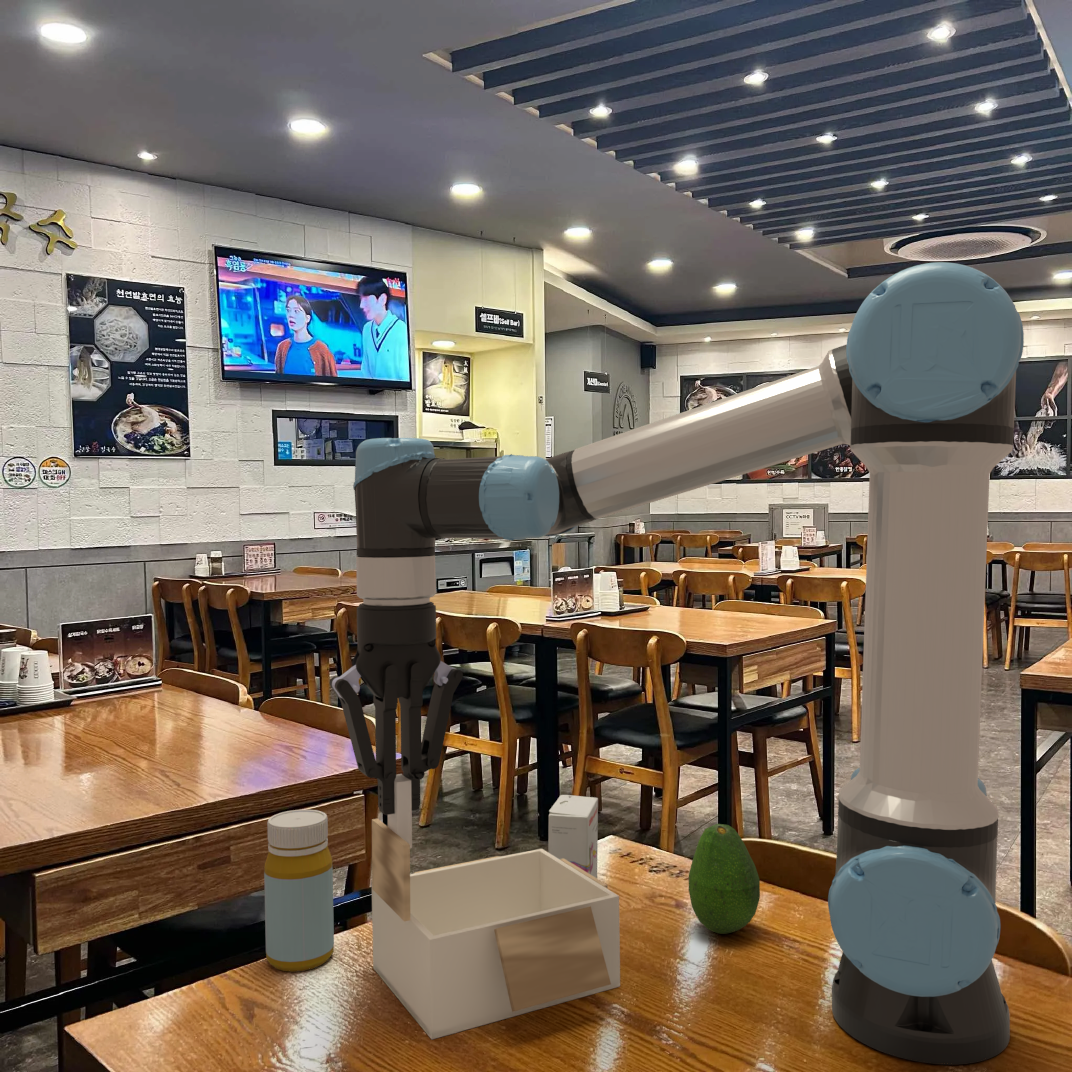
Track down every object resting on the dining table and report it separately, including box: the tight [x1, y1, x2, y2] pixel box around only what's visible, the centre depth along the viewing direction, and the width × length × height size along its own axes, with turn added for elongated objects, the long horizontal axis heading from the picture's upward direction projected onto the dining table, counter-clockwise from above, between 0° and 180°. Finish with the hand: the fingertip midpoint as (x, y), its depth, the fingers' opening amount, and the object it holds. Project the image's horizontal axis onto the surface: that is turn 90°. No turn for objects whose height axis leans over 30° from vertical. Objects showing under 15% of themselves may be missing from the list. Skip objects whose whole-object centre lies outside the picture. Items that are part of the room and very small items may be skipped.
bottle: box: [263, 809, 335, 973], centre depth 105 cm, size 7×7×15 cm
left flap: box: [371, 818, 411, 921], centre depth 95 cm, size 9×1×7 cm, turn 28°
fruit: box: [688, 823, 761, 935], centre depth 110 cm, size 8×8×12 cm
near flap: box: [494, 906, 611, 1012], centre depth 91 cm, size 1×10×7 cm, turn 118°
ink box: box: [547, 794, 599, 879], centre depth 119 cm, size 9×5×12 cm, turn 168°
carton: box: [371, 848, 621, 1040], centre depth 101 cm, size 17×21×9 cm
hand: (399, 844), depth 95 cm, fingers closed
